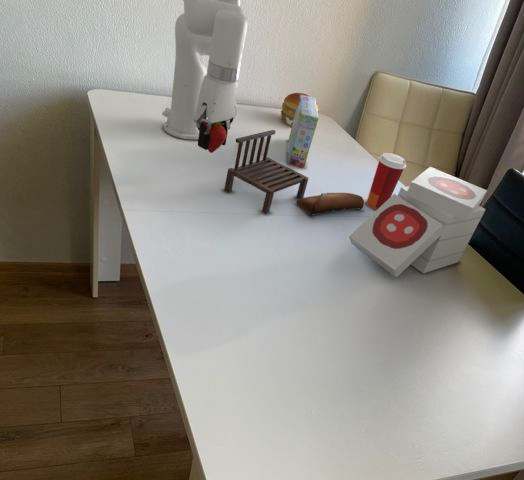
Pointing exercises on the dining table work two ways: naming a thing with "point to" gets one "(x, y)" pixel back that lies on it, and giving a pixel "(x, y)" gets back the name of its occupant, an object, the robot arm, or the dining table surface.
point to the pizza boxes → (422, 224)
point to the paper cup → (385, 179)
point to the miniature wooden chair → (263, 170)
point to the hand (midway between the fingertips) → (211, 144)
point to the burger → (291, 107)
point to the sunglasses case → (330, 203)
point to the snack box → (302, 130)
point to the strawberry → (216, 136)
